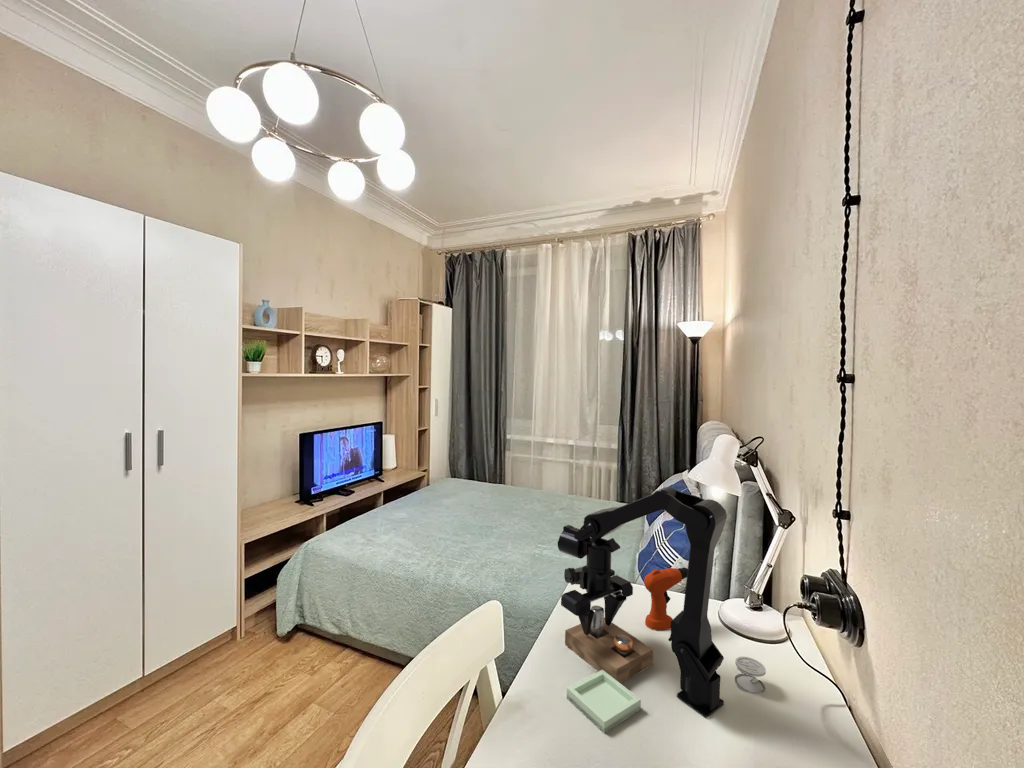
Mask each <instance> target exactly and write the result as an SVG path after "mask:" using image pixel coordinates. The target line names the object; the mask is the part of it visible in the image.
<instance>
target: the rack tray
mask: <svg viewBox="0 0 1024 768" xmlns="http://www.w3.org/2000/svg"><path fill="white" fill-rule="evenodd" d="M567 698H568V699H569V702H571V704H572V705H573V706H575V707H576V708H577V709H578V710H579V711H580V712H581V713H582V714H583V715H584V716H585V717H586V718H587V719H588V720H590V722H592V723H593V725H595V726H596V727H597V728H598V729H599V730H600V731H601V732H602V733H603V734H605V733H606V732H608V731H610V730H611V729H613V728H615V727H616V726H618V725H619V724H621V723H622V722H624V721H625V720H627V719H629V718H630V717H632V716H634V715H635V714H637V712H639V711H641V710H642V709H641V704H642V703H641V701H642V700H641V698H639V697H638V696H637V695H636V694H634V693H633V692H632V691H631V690H629V689H628V688H627V687H626V686H624V685H623V684H622V683H619V682H618V681H616V680H615V679H614V678H613V677H611V676H610V675H609V674H608V673H606V672H605V671H604V670H600V671H597V672H595V673H593V674H591V675H589V676H587V677H585V678H583V679H581V680H580V681H578V682H576V683H574V684H572V685H570V686H568V687H566V699H567ZM568 699H567V700H568Z"/></svg>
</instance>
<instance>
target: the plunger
mask: <svg viewBox="0 0 1024 768" xmlns="http://www.w3.org/2000/svg"><path fill="white" fill-rule="evenodd" d="M614 647H615V649H616V653H618V654H619V655H620V656H622V657H623V658H625V657H627V656H629V655H630V652H631V651H632V649H633V641H632V639H631V638H630V637H628V636H625V635H617V636H615V637H614Z"/></svg>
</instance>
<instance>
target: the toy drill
mask: <svg viewBox="0 0 1024 768" xmlns="http://www.w3.org/2000/svg"><path fill="white" fill-rule="evenodd" d="M687 572H688V567H679V568H675V567H674V568H673V567H669V568H665V569H660V570H659V569H653V570H652V571H651V572H649V573H648V574H646V575H645V577H644V580H643V584H644V587H645V589H646V590H647V591H648V592H649V593H650V598H651V600H650V601H651V604H650V605H651V606H650V611H649V614H647V615H646V616H645V620H644V624H645V626H646V628H648V629H650V630H653V631H664V630H669V629H671V621H672V620H673V619H674V618H673V617H672V616H670V615H669V614H668V613H667V612H668V611H667V609H668V607H667V606H668V605H667V604H668V603H669V602H670V600H671V597H670V596H669V595H668V592H667V591H668V590H670V589H671V588H673V587H675V586H677V584H679V583H680V582H682V580H684V579H687Z"/></svg>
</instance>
